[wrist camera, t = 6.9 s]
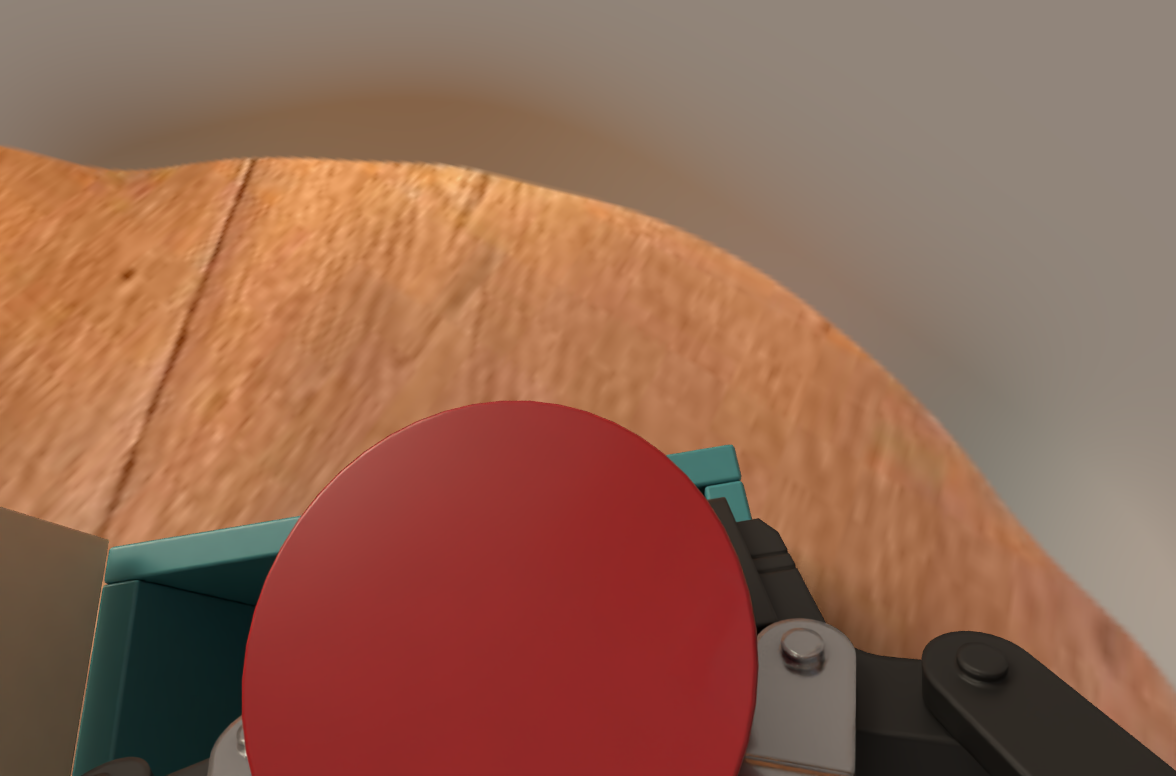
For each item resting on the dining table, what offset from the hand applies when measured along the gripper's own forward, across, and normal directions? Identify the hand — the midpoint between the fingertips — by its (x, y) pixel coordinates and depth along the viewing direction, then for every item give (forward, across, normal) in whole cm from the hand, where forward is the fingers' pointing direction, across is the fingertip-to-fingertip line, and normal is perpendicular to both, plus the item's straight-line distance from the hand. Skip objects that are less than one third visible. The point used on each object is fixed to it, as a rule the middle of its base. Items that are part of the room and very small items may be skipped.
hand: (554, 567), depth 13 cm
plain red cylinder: (+3, 0, +6) cm, 6 cm away
